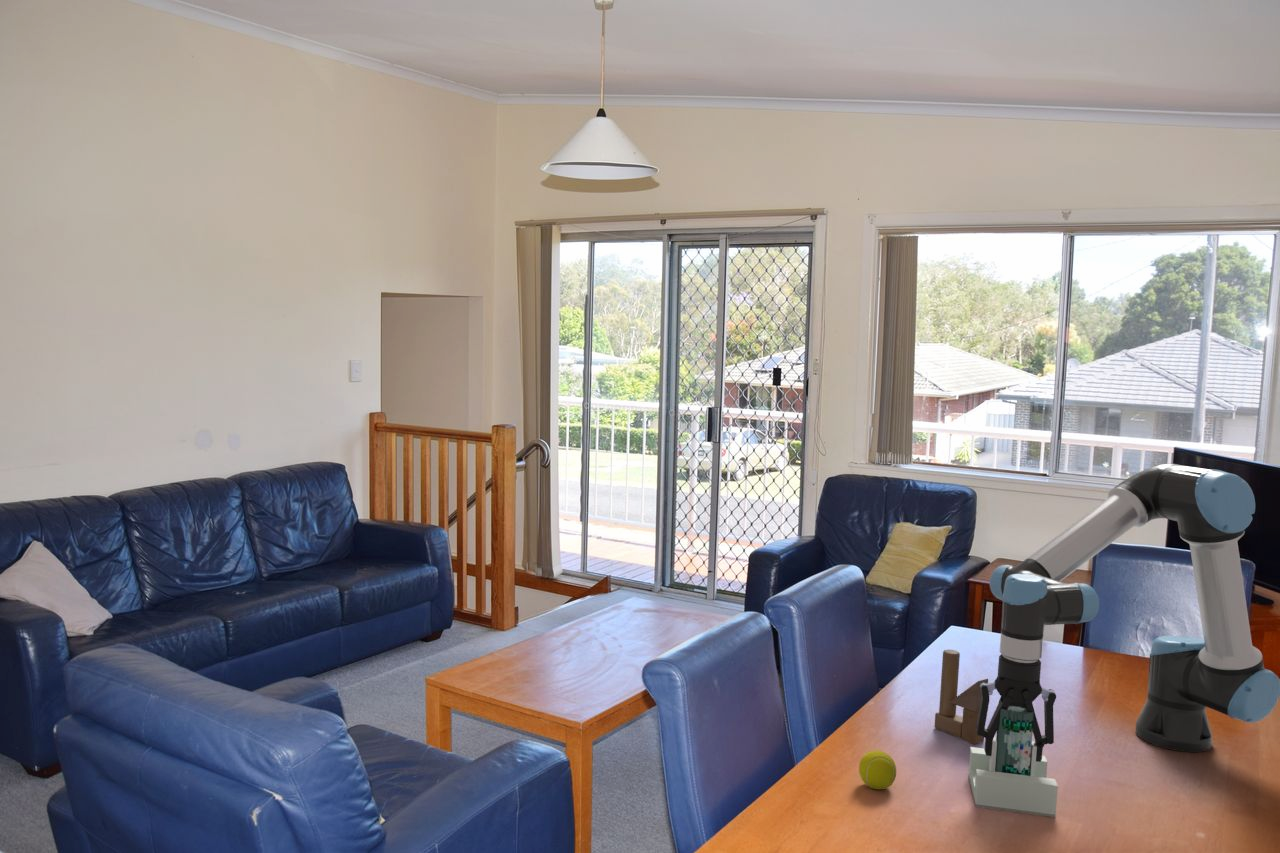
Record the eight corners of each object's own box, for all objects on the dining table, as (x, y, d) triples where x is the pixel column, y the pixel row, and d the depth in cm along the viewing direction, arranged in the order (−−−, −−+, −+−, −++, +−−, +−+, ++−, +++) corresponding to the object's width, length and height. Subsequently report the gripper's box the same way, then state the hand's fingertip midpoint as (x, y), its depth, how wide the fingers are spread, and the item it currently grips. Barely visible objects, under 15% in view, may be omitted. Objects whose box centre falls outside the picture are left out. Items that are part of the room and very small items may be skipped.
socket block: (1042, 785, 199) (1044, 755, 198) (1055, 817, 185) (1057, 785, 185) (968, 775, 202) (970, 746, 201) (975, 806, 188) (977, 775, 188)
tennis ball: (855, 778, 199) (857, 744, 198) (890, 780, 198) (892, 745, 198) (861, 794, 192) (863, 758, 191) (898, 796, 191) (901, 760, 191)
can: (1010, 793, 189) (1015, 715, 188) (987, 779, 195) (992, 704, 193) (1034, 788, 192) (1040, 711, 190) (1011, 775, 197) (1016, 700, 196)
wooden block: (974, 745, 218) (979, 664, 216) (933, 728, 226) (938, 650, 225) (984, 741, 220) (990, 661, 218) (944, 725, 229) (949, 647, 227)
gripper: (1070, 656, 193) (1061, 773, 195) (964, 645, 197) (956, 759, 199) (1078, 668, 185) (1069, 789, 187) (968, 657, 190) (960, 775, 191)
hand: (1011, 774), depth 193 cm, fingers closed on can, 6 cm apart
